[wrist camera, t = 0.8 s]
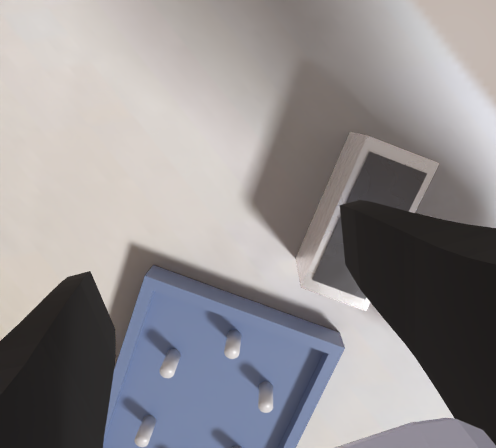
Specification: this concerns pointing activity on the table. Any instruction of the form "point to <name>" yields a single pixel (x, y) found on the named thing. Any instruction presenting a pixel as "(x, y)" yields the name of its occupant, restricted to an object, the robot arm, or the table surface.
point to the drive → (349, 190)
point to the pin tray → (215, 370)
